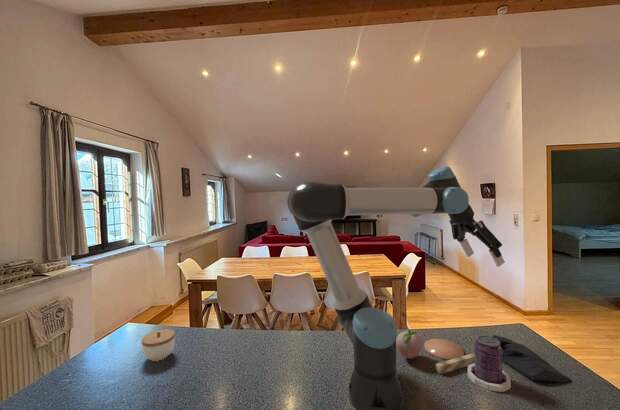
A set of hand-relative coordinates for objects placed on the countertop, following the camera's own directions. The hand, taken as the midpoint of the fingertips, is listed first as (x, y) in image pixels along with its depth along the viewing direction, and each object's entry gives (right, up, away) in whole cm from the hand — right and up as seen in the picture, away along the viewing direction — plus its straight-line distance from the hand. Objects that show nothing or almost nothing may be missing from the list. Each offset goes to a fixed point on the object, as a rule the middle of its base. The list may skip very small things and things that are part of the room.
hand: (484, 259), depth 99 cm
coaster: (-13, -34, +3) cm, 36 cm away
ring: (-7, -34, -14) cm, 37 cm away
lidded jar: (-117, -37, +3) cm, 123 cm away
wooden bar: (-13, -34, -7) cm, 37 cm away
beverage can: (-7, -34, -14) cm, 38 cm away
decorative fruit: (-28, -34, -2) cm, 44 cm away
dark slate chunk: (+9, -34, -6) cm, 36 cm away
